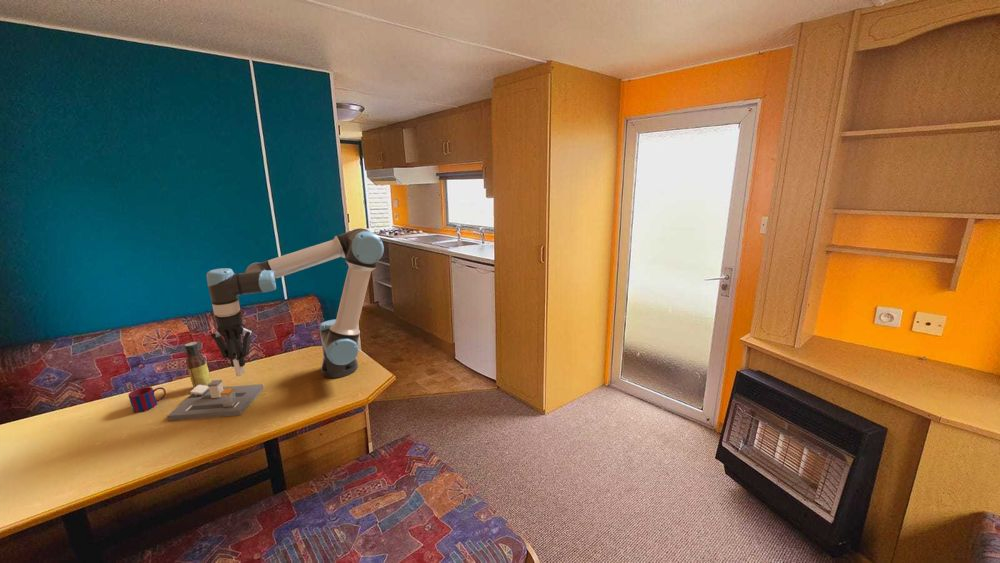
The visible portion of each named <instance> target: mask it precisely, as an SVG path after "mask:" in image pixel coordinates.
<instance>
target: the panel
mask: <svg viewBox="0 0 1000 563" xmlns="http://www.w3.org/2000/svg"><path fill="white" fill-rule="evenodd" d="M226 388H234V392H235V396H236V400H237V402H236V403H235V404H234V405H233V406H232V407H224V406H223V402H222V398H221V397H220V398H211V394H210V390H209V389H208V390H207V391H206V392H204V393H203V394H202V395H198V396H195V394H192V393H190V395H189V396H187V398H186V399H184V401H183V402H181V403H180V404H179V405H178V406H177V407H176V408H174V409H173V410H172V411H171V412H170V413H168V415H166V419H167V420H168V421H167V422H169V421H170V422H171V421H173V422H174V421H184V420H195V419H198V420H199V419H208V418H209V419H210V418H211V419H212V418H221V417H232V416H233V417H235V416H241V415H242V414H243V413H244V412H245V411H246V409H247V408H248V407H249V406H250V405H251V404H252V402H253V401H254V400H255V399H256V398H257V396H259V394H260V393H261V392H262V391H263V389H264V384H247V385H234V386H233V385H232V386H223V390H224V389H226Z"/></svg>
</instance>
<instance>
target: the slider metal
mask: <svg viewBox="0 0 1000 563" xmlns="http://www.w3.org/2000/svg"><path fill="white" fill-rule="evenodd" d="M220 395H221V398H222V402H223V406H224V407H232V406H233V405H234V404H235V403H236V402H237V400H236V396H235V392H234V388H226V389H224V390H223V391H222V392H221V393H220Z"/></svg>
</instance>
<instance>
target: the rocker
mask: <svg viewBox="0 0 1000 563" xmlns="http://www.w3.org/2000/svg"><path fill="white" fill-rule="evenodd" d="M208 389H209V387H208V386H205V385H197V386H196V387H195V388H193V389H192V390H190V392H189V393H190V394H195V396H198V395H202V394H203V393H204V392H206V391H207V390H208Z"/></svg>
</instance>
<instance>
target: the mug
mask: <svg viewBox="0 0 1000 563" xmlns="http://www.w3.org/2000/svg"><path fill="white" fill-rule="evenodd" d="M158 390H162V391H163V396H162V397H160V398H158V399H156V395H155V393H156V391H158ZM166 395H167V390H166V388H164V387H160V386H159V387H156V388H155V389H154V388H153V387H152V386H145V387H140V388H137V389H135V390H132V391H131V392H129V393H128V399H129V401H130V406H131V408H132V412H134V413H136V414H139V413H145V412H147V411H149V410H152V409H154V408H155V407H156V406H157V405H158V402H159V401H162V400H163V399H164V398H165V397H166Z"/></svg>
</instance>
